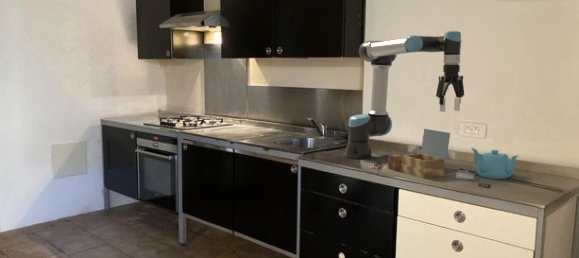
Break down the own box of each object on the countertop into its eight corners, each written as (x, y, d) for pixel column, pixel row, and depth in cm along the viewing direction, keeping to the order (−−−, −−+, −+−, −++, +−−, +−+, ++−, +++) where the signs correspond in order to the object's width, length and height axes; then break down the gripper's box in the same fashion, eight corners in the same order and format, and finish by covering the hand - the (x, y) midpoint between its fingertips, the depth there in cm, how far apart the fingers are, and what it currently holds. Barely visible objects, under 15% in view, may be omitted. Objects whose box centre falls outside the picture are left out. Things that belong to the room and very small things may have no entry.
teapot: (477, 179, 222) (478, 153, 221) (469, 170, 240) (471, 146, 239) (517, 181, 219) (519, 154, 218) (506, 172, 237) (508, 147, 236)
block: (387, 168, 245) (388, 155, 245) (395, 167, 248) (396, 154, 247) (394, 170, 241) (394, 156, 240) (402, 169, 243) (402, 155, 242)
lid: (424, 128, 242) (425, 128, 243) (420, 153, 243) (421, 153, 244) (449, 132, 228) (450, 133, 228) (445, 159, 229) (446, 159, 229)
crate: (401, 171, 239) (401, 155, 238) (420, 169, 244) (420, 153, 243) (424, 178, 224) (424, 161, 223) (443, 175, 230) (444, 159, 229)
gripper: (440, 64, 226) (438, 112, 229) (473, 64, 236) (471, 110, 239) (429, 64, 233) (427, 111, 236) (462, 64, 242) (460, 109, 245)
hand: (449, 111), depth 237 cm, fingers open, 9 cm apart
